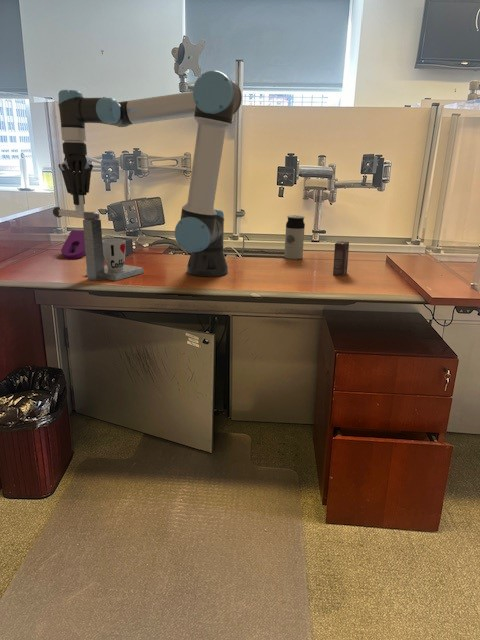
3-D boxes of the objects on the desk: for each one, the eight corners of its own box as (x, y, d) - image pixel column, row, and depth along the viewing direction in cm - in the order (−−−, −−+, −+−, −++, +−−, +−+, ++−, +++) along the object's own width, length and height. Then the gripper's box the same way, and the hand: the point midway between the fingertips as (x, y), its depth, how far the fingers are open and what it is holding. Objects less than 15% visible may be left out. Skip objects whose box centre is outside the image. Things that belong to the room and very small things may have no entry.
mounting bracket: (85, 272, 193) (97, 246, 206) (80, 255, 187) (93, 230, 200) (63, 271, 193) (76, 246, 206) (57, 255, 187) (71, 230, 200)
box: (335, 271, 178) (338, 240, 174) (347, 273, 176) (350, 241, 172) (331, 275, 173) (334, 242, 169) (343, 276, 171) (346, 244, 167)
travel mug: (293, 255, 207) (295, 214, 202) (306, 258, 202) (309, 216, 196) (280, 257, 203) (282, 215, 197) (293, 260, 197) (296, 217, 191)
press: (143, 273, 168) (141, 217, 162) (107, 283, 153) (102, 222, 147) (115, 268, 175) (111, 214, 168) (77, 277, 160) (72, 218, 153)
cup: (109, 272, 160) (107, 243, 156) (99, 267, 166) (97, 239, 162) (130, 269, 165) (129, 241, 161) (120, 265, 170) (119, 238, 167)
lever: (103, 221, 153) (102, 210, 152) (91, 222, 149) (90, 211, 147) (61, 216, 162) (60, 205, 161) (49, 217, 158) (48, 206, 157)
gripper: (81, 142, 160) (87, 212, 168) (50, 141, 150) (57, 215, 157) (97, 143, 157) (102, 213, 165) (65, 141, 146) (72, 216, 154)
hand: (80, 214), depth 161 cm, fingers closed
